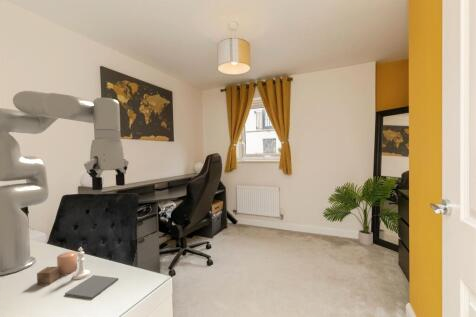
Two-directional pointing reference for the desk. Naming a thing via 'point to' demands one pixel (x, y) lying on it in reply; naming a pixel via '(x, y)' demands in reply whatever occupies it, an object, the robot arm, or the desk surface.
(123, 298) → the desk surface
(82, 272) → the chess piece
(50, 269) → the walnut block
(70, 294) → the coaster
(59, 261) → the peach rounded dome
